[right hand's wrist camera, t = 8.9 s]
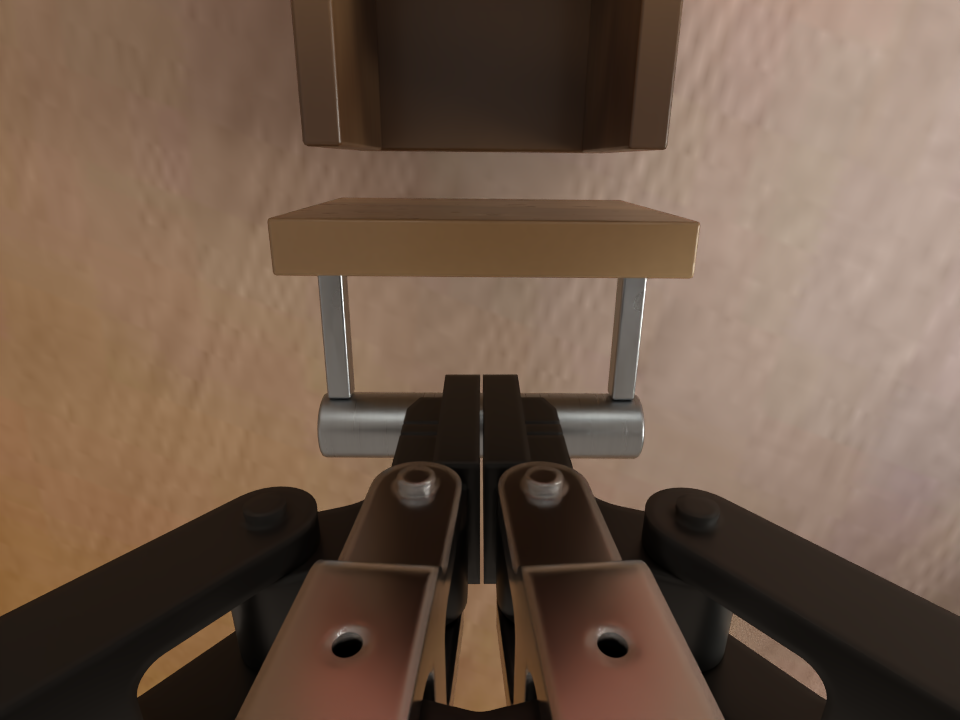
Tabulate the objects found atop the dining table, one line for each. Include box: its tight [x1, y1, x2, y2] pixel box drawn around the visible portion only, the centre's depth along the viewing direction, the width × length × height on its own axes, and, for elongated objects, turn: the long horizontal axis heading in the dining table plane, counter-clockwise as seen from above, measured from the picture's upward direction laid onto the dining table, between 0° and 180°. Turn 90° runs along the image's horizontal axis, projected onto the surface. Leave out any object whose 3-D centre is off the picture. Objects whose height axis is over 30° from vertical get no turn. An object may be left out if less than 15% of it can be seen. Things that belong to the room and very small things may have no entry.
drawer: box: [268, 0, 700, 459], centre depth 14 cm, size 20×9×7 cm, turn 179°
